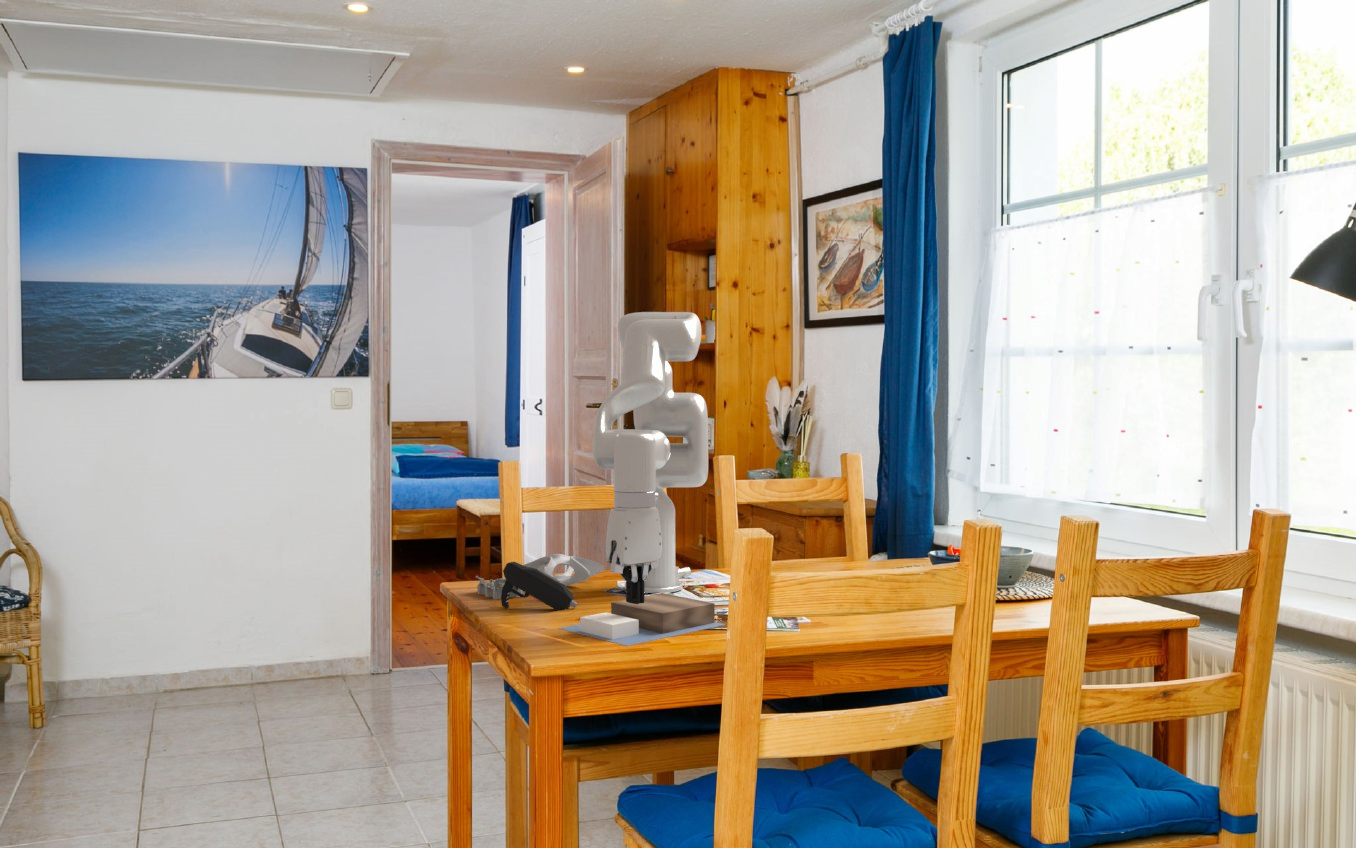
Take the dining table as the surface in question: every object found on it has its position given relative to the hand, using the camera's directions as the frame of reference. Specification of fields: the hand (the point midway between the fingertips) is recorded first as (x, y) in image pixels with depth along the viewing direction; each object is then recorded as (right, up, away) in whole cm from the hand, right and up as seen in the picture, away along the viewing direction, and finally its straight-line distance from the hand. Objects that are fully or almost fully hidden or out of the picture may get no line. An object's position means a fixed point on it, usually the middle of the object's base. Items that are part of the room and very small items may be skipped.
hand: (635, 602), depth 201 cm
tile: (-5, -2, -4) cm, 6 cm away
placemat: (+1, -5, +2) cm, 5 cm away
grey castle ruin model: (-30, -4, +35) cm, 46 cm away
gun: (-20, -5, +19) cm, 28 cm away
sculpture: (-19, -4, +48) cm, 52 cm away
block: (+5, -4, +5) cm, 8 cm away
